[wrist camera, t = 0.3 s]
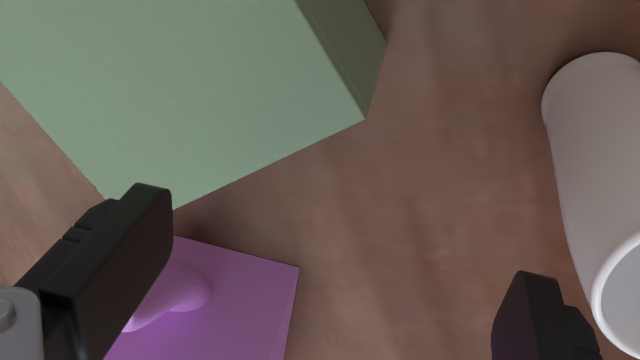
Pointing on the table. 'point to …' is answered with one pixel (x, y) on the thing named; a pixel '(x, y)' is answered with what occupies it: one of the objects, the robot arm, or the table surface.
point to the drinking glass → (600, 184)
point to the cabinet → (188, 83)
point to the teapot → (211, 308)
